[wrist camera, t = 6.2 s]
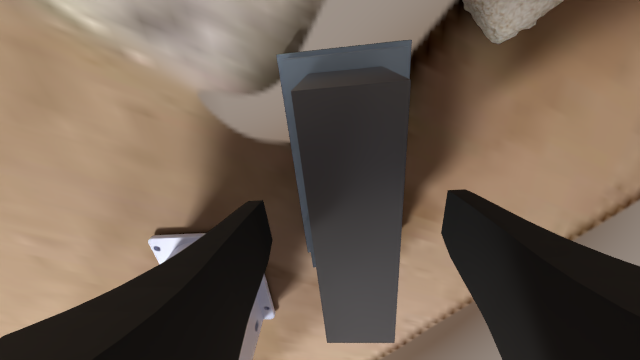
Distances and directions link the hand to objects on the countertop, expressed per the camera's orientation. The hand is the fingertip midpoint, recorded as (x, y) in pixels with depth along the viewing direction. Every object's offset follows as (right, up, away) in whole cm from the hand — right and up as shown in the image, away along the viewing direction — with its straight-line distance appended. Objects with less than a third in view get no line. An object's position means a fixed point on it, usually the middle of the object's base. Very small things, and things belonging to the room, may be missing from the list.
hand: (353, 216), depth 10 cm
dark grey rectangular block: (0, +1, +3) cm, 3 cm away
